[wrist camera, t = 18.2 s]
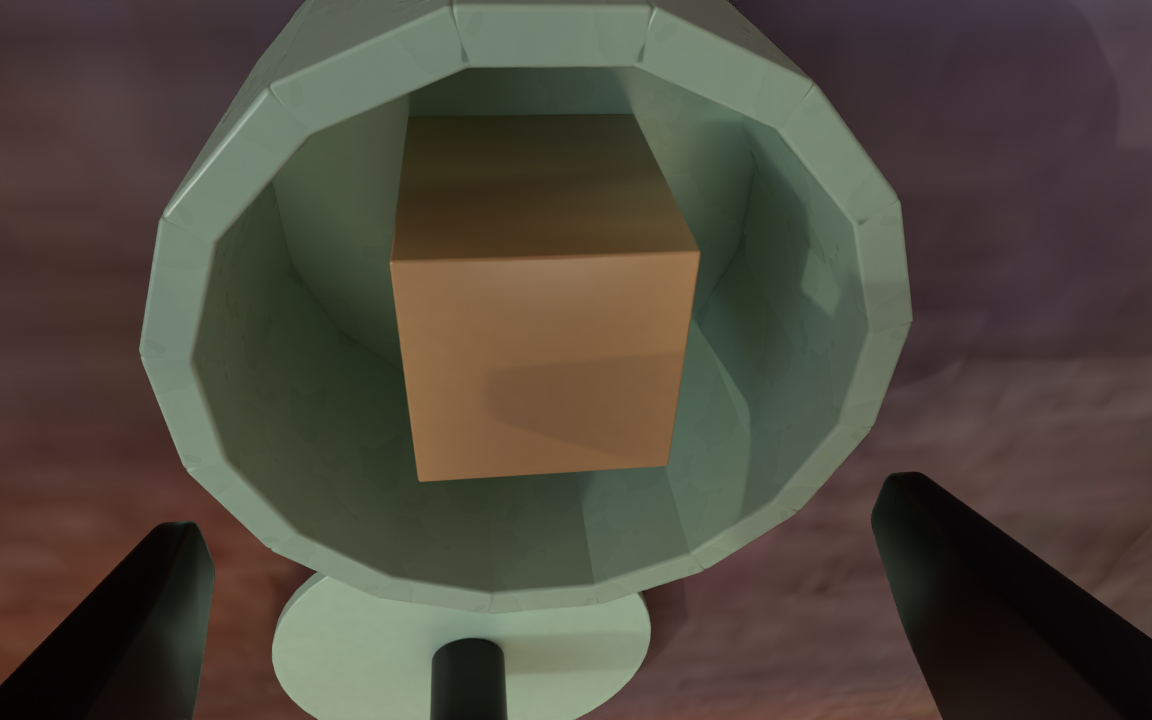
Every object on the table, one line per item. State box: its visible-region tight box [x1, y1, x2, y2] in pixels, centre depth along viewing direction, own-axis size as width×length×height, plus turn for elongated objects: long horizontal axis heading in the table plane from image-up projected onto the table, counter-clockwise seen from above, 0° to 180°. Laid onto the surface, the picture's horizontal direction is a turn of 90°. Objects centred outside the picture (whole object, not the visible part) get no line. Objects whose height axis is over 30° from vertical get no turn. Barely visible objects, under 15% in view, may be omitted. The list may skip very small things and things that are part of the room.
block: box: [389, 114, 701, 482], centre depth 15 cm, size 4×4×6 cm
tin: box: [139, 0, 913, 614], centre depth 15 cm, size 11×11×6 cm
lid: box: [272, 572, 651, 720], centre depth 25 cm, size 12×12×5 cm
